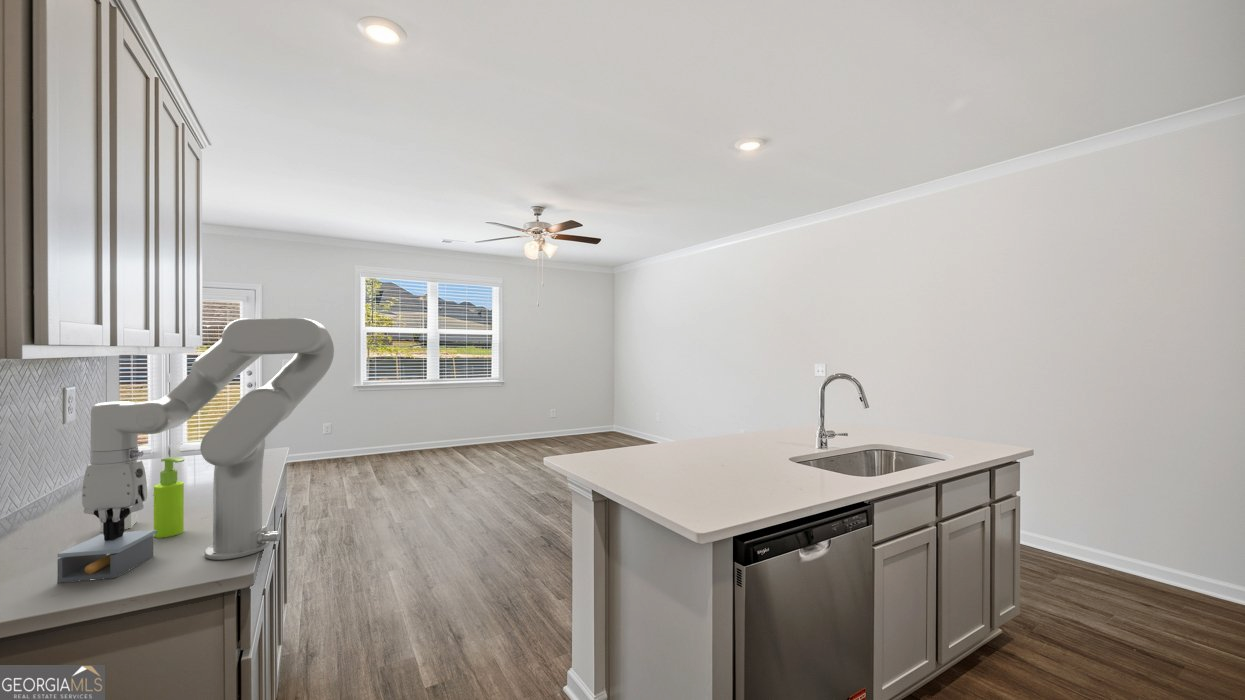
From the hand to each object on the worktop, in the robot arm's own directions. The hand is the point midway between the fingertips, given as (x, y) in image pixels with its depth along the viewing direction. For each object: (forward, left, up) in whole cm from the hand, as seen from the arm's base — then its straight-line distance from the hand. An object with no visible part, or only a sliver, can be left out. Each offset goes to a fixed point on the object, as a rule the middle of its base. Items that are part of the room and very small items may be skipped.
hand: (113, 538), depth 114 cm
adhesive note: (+17, -29, -7) cm, 35 cm away
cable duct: (0, +2, -6) cm, 6 cm away
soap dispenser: (0, -20, -6) cm, 21 cm away
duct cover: (0, +2, -1) cm, 2 cm away
